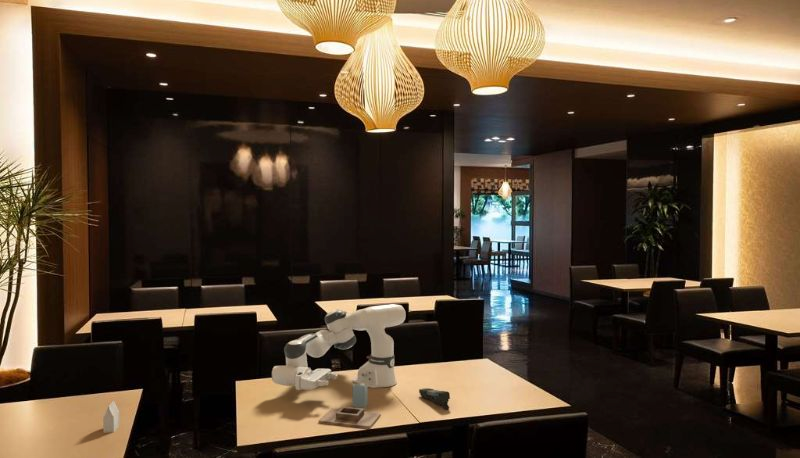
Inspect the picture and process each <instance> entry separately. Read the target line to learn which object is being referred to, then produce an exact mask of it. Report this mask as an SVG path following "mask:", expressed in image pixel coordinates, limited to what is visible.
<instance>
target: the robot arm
mask: <svg viewBox="0 0 800 458" xmlns="http://www.w3.org/2000/svg"><path fill="white" fill-rule="evenodd" d="M347 313H348V312H347V311H343V310H342V309H333V310H330V311H329V312H328V313H326V315H325V316H324V323H325V324H326V326H327V329H321V330H319V331H317V332H315V333H313V332H311V333H307V334H304V335H302V336H300V337H299V338H296V339H294V340H290V341H289V342H287V343H286V344H285V346H284V348H283V351H284V356H285V365H274V366H273V368H272V370H271V380H272V382H273V383H274V384H276V385H280V386H287V387H289V386H294V387H295V390H296V391H301V390H305V391H307V390H315V389H316V388H318V387H322V386H328V385H330V380H328V379H333V380H337V379H338V374H335V373H333V372H332V369H330V368H316V369H314V370H312V369H311V367H308V361H307V360H308V357H307V355H308V356H310V357H312V358H320V357H323V356H324V355H325V354H326V353H327V352H328V351H329V350H330V348H331V347H332V346H333V347H334V348H335V349H339V350H348V349H350V348H352V347H353V346H354V345H355V344H356V342H357V337H356V335H355V334H354V331H353V330H355V331H366V332H367V333H368V336H369V338H370V343H371V344H370V345H371V346H370V347H371V348H370V349H371V350H370V351H371V354H369V355H367V356H366V359H368V361H366V362H365V363H364V364H363V365H362V366H360V367H359V368H358V371H357V374H356V375H357V376H355V377H353V379H352V382H353V383H354V384H361V383H365V384H366V385H367V388H371V389H376V388H388V387H393V386H394V385H397V383H398V382H397V378H396V373H395V354H394V351H395V350H394V347H395V345H394V344H395V343H394V339H393V337H391V335H389V334H387V333H386V331H385V329H386V328H390V327H395V326H398V325H401V324H403V323H404V322H405V320H406V316H407V315H406V310H405V308H404V307H403V305H401V304H396V303H395V304H393V303H391V304H382V305H373V306H368V307H365V308H362V309H358V310H355V311H353V312H351V313H350V314H347Z"/></svg>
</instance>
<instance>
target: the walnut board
mask: <svg viewBox="0 0 800 458" xmlns="http://www.w3.org/2000/svg"><path fill="white" fill-rule="evenodd" d="M381 416H382V415H381V413H379V412H369V411H365V408H362V407H353V406H352V407H351V406H349V407H348V406H342V407H340V408H333V407H332V408H330V409H329V410H328V411H327V412H326V413H325V414H324V415H323V416H322V417H321V418H319V419H318V424H323V423H328V424H327V425H332V424H336V425H335V426H341V425H343V426H342V427H349V426H354V427H353V428H358V427H363V428H362V429H367V428H370V429H371V428H372V427H373V426H374V425H373V424H376V422H377V421H378V420H379V418H380V417H381Z"/></svg>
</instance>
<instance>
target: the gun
mask: <svg viewBox="0 0 800 458" xmlns="http://www.w3.org/2000/svg"><path fill="white" fill-rule="evenodd" d="M418 393H419V396H420V397H422V398H424V399H426V400H431V401H432V402H433V404H437V405H439V407H442V408H443V410H445V411H446V410H449V409H450V406H449V404H448V402H449V401H450V399H451V396H450V395H451V394H450V392H449V391H447V390H446V391H445V390H438V389H437V390H436V389H434V388H428V387H427V388H426V387H424V388H420V389H418Z"/></svg>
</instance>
